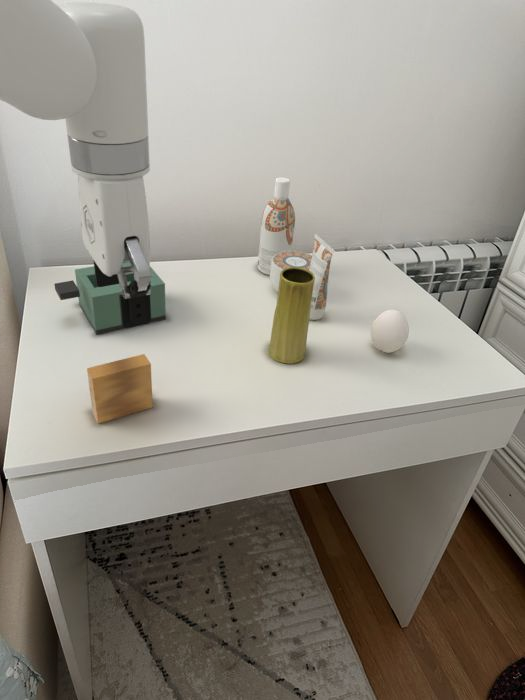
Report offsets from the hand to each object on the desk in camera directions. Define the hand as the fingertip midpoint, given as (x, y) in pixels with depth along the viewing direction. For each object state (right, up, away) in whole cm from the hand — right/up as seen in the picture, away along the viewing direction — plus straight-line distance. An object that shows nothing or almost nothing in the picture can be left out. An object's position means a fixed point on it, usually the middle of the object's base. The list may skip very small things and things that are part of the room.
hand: (122, 303), depth 62 cm
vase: (+20, -6, +25) cm, 33 cm away
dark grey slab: (-15, +4, +23) cm, 28 cm away
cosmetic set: (+22, +6, +42) cm, 48 cm away
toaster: (-8, +1, +30) cm, 31 cm away
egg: (+37, -6, +28) cm, 47 cm away
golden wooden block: (-3, -14, +11) cm, 17 cm away
